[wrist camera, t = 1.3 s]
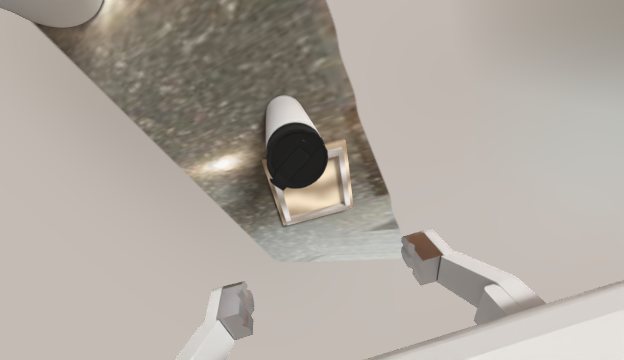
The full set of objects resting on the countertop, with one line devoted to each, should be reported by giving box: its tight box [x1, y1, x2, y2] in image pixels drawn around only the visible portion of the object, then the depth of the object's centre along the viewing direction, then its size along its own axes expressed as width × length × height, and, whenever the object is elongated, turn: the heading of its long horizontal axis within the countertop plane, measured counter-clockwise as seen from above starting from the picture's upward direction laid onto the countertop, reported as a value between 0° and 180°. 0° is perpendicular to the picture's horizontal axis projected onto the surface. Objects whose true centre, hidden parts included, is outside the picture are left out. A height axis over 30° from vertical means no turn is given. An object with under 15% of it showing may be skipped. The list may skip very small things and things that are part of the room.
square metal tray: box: [262, 139, 353, 225], centre depth 46 cm, size 16×16×2 cm
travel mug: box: [266, 95, 328, 191], centre depth 30 cm, size 6×7×20 cm
